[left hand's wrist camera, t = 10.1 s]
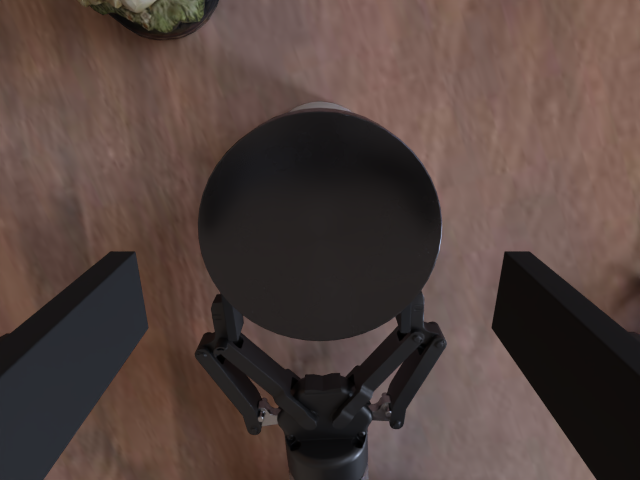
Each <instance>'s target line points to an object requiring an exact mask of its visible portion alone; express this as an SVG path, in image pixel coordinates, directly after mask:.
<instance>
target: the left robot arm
mask: <svg viewBox="0 0 640 480" xmlns="http://www.w3.org/2000/svg"><path fill="white" fill-rule="evenodd" d="M147 329H148V323H147V317H146V311H145V305H144V299H143V293H142V288H141V282H140V276H139V270H138V264H137V259H136V253H135V252H109V253H108V254H107V255H106V256H104V257H103V258H102V259H101V260H100V261H98V262H97V263H96V264H95V265H93V266H92V267H91V268H90V269H89V270H87V271H86V272H85V273H84V274H82V275H81V276H80V277H79V278H78V279H76V280H75V281H74V282H73V283H71V284H70V285H69V286H68V287H67V288H65V289H64V290H63V291H62V292H60V293H59V294H58V295H57V296H56V297H54V298H53V299H52V300H51V301H49V302H48V303H47V304H46V305H45V306H43V307H42V308H41V309H40V310H38V311H37V312H36V313H35V314H34V315H32V316H31V317H30V318H29V319H27V320H26V321H25V322H24V323H23V324H21V325H20V326H19V327H18V328H16V329H15V330H14V331H13V332H12V333H10V334H5V335H3V336H1V337H0V480H43V479H44V478H45V477H46V475H47V474H48V472H49V471H50V469H51V468H52V466H53V465H54V464H55V462H56V461H57V459H58V458H59V456H60V455H61V453H62V452H63V451H64V449H65V448H66V446H67V445H68V443H69V442H70V440H71V439H72V438H73V436H74V435H75V433H76V432H77V430H78V429H79V427H80V426H81V425H82V423H83V422H84V420H85V419H86V417H87V416H88V414H89V413H90V412H91V410H92V409H93V407H94V406H95V404H96V403H97V401H98V400H99V399H100V397H101V396H102V394H103V393H104V391H105V390H106V388H107V387H108V386H109V384H110V383H111V381H112V380H113V378H114V377H115V375H116V374H117V373H118V371H119V370H120V368H121V367H122V365H123V364H124V362H125V361H126V360H127V358H128V357H129V355H130V354H131V352H132V351H133V350H134V348H135V347H136V345H137V344H138V342H139V341H140V339H141V338H142V337H143V335H144V334H145V332H146V331H147ZM492 329H493V331H494V332H495V334H496V335H497V337H498V338H499V339H500V341H501V342H502V344H503V345H504V347H505V348H506V350H507V351H508V352H509V354H510V355H511V357H512V358H513V360H514V361H515V362H516V364H517V365H518V367H519V368H520V370H521V371H522V373H523V374H524V375H525V377H526V378H527V380H528V381H529V383H530V384H531V386H532V387H533V388H534V390H535V391H536V393H537V394H538V396H539V397H540V399H541V400H542V401H543V403H544V404H545V406H546V407H547V409H548V410H549V412H550V413H551V414H552V416H553V417H554V419H555V420H556V422H557V423H558V425H559V426H560V427H561V429H562V430H563V432H564V433H565V435H566V436H567V438H568V439H569V440H570V442H571V443H572V445H573V446H574V448H575V449H576V451H577V452H578V453H579V455H580V456H581V458H582V459H583V461H584V462H585V464H586V465H587V466H588V468H589V469H590V471H591V472H592V474H593V475H594V477H595V478H596V479H597V480H640V335H638V334H636V333H634V332H627V331H626V330H625V329H624V328H622V327H621V326H620V325H619V324H617V323H616V322H615V321H614V320H613V319H611V318H610V317H609V316H608V315H606V314H605V313H604V312H603V311H602V310H600V309H599V308H598V307H597V306H595V305H594V304H593V303H592V302H591V301H589V300H588V299H587V298H586V297H584V296H583V295H582V294H581V293H580V292H578V291H577V290H576V289H575V288H573V287H572V286H571V285H570V284H569V283H567V282H566V281H565V280H564V279H562V278H561V277H560V276H559V275H558V274H556V273H555V272H554V271H553V270H551V269H550V268H549V267H548V266H547V265H545V264H544V263H543V262H542V261H540V260H539V259H538V258H537V257H536V256H534V255H533V254H532V253H531V252H505V253H504V259H503V264H502V270H501V276H500V282H499V288H498V293H497V299H496V305H495V311H494V317H493V323H492Z"/></svg>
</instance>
